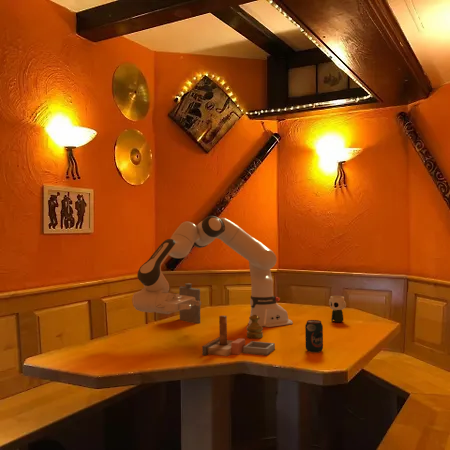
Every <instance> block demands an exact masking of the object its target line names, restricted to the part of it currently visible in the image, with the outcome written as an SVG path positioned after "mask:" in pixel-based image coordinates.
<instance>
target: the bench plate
mask: <svg viewBox="0 0 450 450" xmlns="http://www.w3.org/2000/svg"><path fill="white" fill-rule="evenodd" d="M233 341H234V340H228V339H227V345H226V346H223V345H220V342H218V343H216V344H214V345H212V346H211V347H209V348H208V355H215V356H216V355H217V356H225V357H229V356H231V355H232V354H231V343H232V342H233Z"/></svg>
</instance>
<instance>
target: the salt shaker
mask: <svg viewBox="0 0 450 450" xmlns="http://www.w3.org/2000/svg"><path fill="white" fill-rule="evenodd" d="M248 318H249V319H250V320H251V321H252V323H251V324H248V326H246V337H247V338H249V339H252V340H253V339H255V340H256V339H261V338H263V336H264V335H263V334H264V331H263V329H264V326H260V324H259V323H258V320H259V319H260V317H259V316H257V315H252V316H249V317H248Z"/></svg>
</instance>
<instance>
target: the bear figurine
mask: <svg viewBox="0 0 450 450" xmlns="http://www.w3.org/2000/svg"><path fill="white" fill-rule="evenodd" d="M328 305H329V307H330V309H331V310H332V311H331V322H334V323H341V322H344V314H343V313H344V312H343V310H344V309H345V308H346V307H347V301H345V296H342V295H331V296H330V297H329V299H328Z"/></svg>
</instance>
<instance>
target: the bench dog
mask: <svg viewBox="0 0 450 450" xmlns="http://www.w3.org/2000/svg"><path fill="white" fill-rule="evenodd" d="M232 341H233V342H232V343H231V354H230V355H240V354H242V353H243V347H244V346H245V345H246V338H240V337H239V338H237V339H235V340H232Z"/></svg>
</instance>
